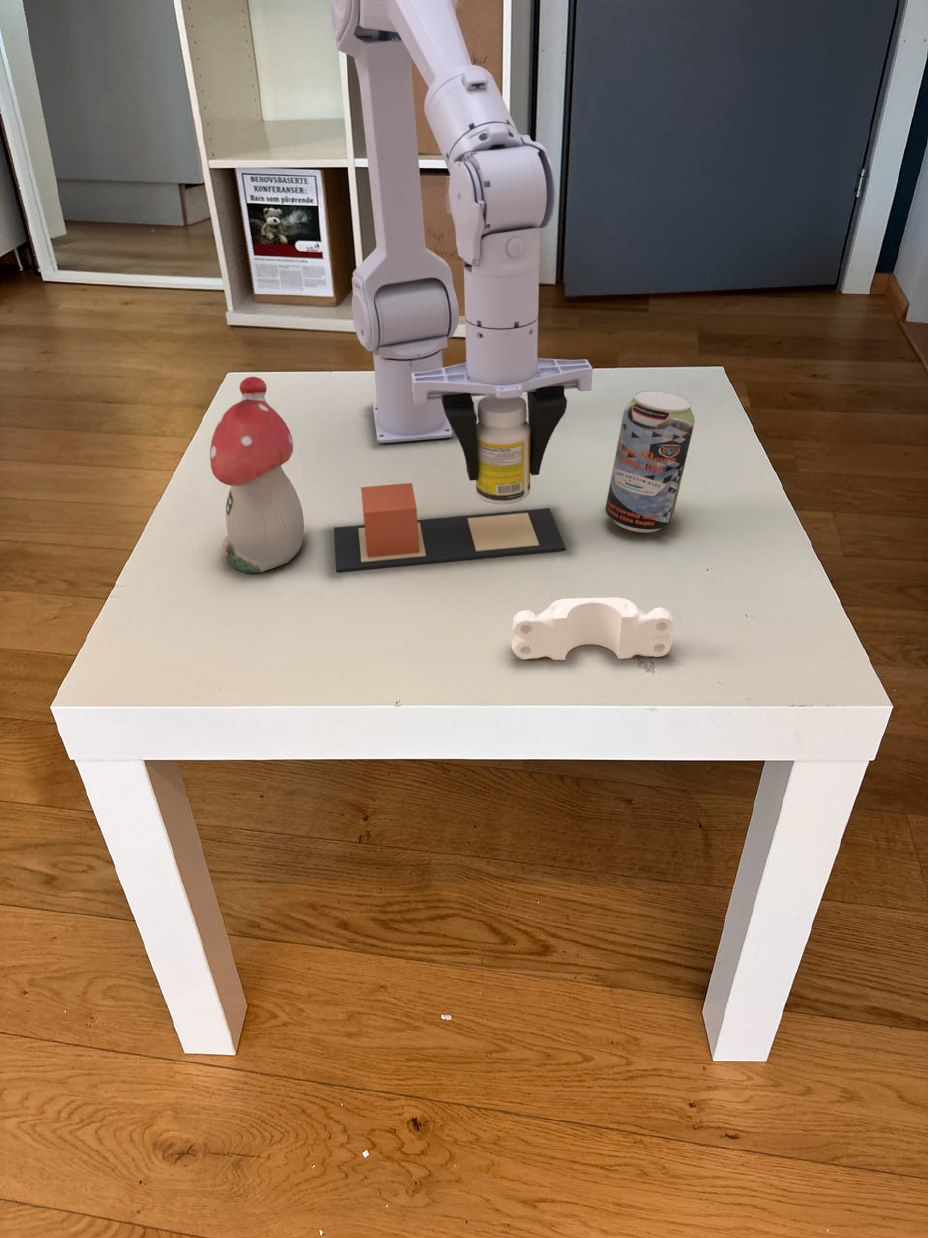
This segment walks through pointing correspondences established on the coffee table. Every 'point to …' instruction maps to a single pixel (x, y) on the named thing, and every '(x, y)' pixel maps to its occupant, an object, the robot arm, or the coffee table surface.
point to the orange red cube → (390, 519)
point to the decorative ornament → (256, 483)
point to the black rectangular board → (457, 540)
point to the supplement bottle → (503, 450)
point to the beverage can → (650, 460)
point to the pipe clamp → (592, 629)
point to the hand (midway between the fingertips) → (502, 472)
